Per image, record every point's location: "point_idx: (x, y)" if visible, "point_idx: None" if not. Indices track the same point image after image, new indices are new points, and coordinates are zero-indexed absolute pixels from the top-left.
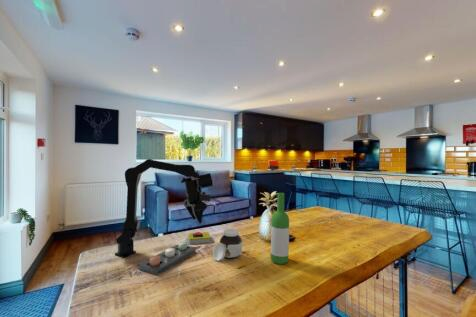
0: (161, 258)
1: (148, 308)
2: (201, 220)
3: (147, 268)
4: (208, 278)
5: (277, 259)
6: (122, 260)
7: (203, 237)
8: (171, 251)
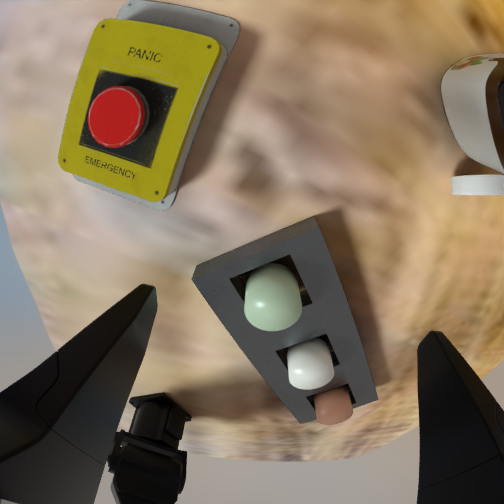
0: None
1: None
2: (459, 359)
3: None
4: (500, 285)
5: None
6: (209, 421)
7: (188, 92)
8: (330, 375)
